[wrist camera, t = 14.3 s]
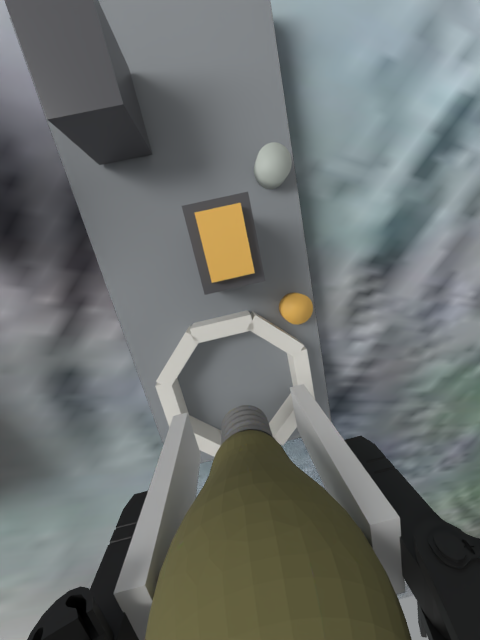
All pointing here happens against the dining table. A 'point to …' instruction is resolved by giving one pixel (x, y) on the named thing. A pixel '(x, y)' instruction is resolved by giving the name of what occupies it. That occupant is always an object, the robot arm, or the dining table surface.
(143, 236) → the breaker panel
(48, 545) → the dining table surface
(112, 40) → the plain toggle
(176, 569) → the light bulb
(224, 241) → the tagged toggle
